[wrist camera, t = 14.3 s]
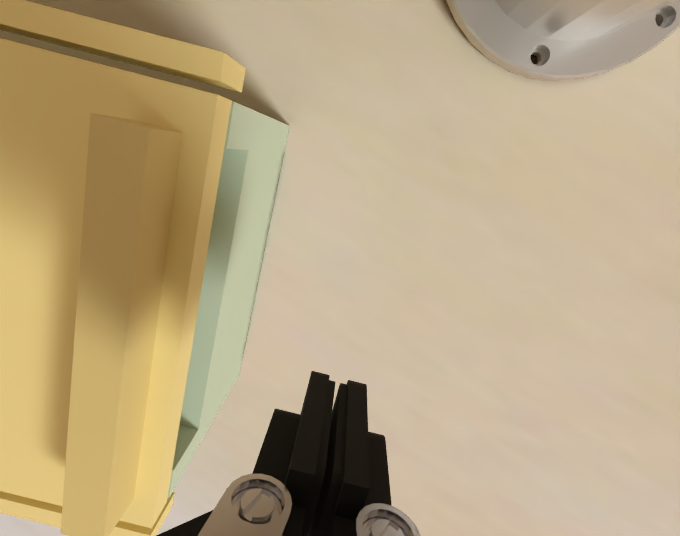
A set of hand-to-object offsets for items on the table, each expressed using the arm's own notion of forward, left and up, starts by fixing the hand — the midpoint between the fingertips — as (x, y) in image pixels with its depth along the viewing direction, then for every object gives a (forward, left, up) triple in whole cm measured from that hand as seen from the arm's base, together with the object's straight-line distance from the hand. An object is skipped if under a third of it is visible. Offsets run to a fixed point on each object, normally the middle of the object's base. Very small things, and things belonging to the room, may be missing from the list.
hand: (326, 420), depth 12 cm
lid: (0, -10, -3) cm, 11 cm away
